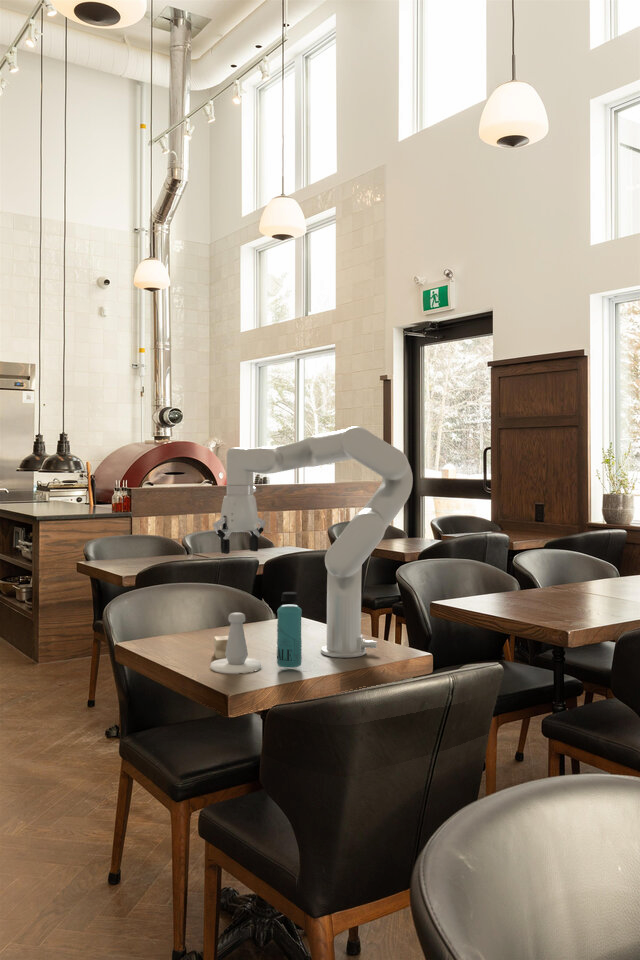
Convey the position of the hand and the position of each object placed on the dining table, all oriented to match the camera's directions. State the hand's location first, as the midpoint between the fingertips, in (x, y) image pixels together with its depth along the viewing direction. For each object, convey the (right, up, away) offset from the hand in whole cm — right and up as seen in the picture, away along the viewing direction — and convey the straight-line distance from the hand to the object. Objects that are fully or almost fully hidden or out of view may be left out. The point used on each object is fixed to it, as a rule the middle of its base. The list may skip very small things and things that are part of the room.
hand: (239, 552), depth 227 cm
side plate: (+1, -28, -19) cm, 34 cm away
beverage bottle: (+15, -28, -22) cm, 39 cm away
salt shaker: (+1, -27, -19) cm, 33 cm away
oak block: (-4, -28, -6) cm, 29 cm away
